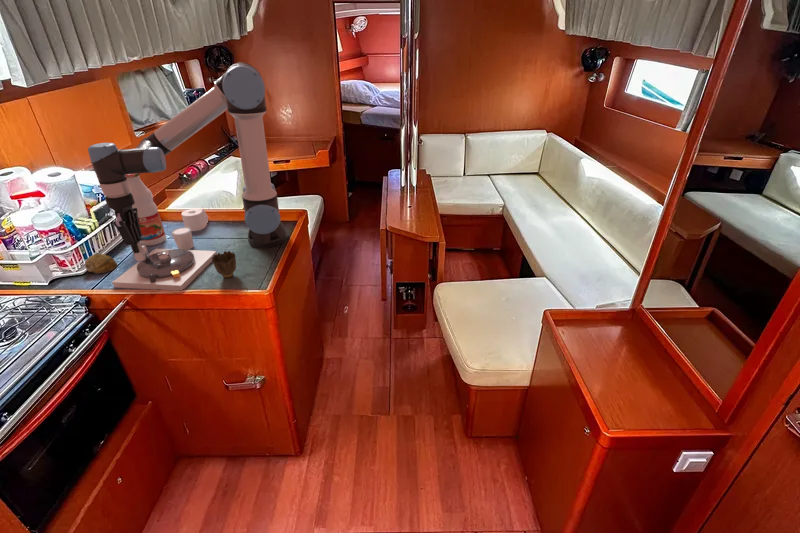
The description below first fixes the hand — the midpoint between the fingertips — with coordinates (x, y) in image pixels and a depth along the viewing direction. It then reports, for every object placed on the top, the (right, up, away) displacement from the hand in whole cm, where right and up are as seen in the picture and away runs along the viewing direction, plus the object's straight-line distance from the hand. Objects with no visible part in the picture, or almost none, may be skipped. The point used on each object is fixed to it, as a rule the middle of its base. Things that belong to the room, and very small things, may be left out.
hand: (141, 259), depth 145 cm
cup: (+30, -6, 0) cm, 30 cm away
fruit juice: (-10, +8, +25) cm, 28 cm away
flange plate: (+8, -2, +2) cm, 8 cm away
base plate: (+7, -4, +4) cm, 9 cm away
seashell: (-17, -4, +6) cm, 18 cm away
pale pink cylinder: (+5, +5, +20) cm, 22 cm away
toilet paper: (+2, +15, +38) cm, 41 cm away
